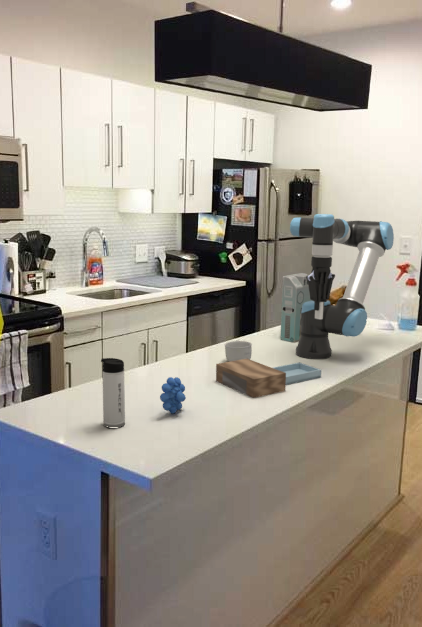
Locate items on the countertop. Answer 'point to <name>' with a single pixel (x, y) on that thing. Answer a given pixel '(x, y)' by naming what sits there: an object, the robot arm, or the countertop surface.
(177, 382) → the grapes
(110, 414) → the travel mug
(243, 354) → the teacup
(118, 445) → the countertop surface
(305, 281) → the device
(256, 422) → the countertop surface
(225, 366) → the shelf
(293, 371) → the tray
